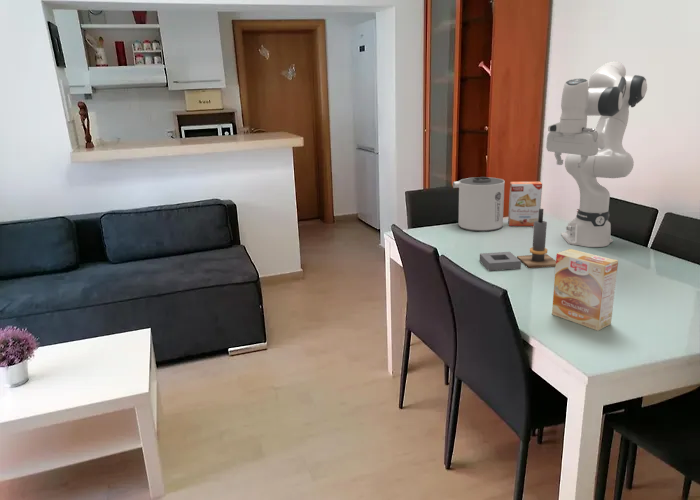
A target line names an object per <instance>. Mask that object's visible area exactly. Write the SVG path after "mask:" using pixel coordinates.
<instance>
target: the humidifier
mask: <svg viewBox="0 0 700 500" xmlns="http://www.w3.org/2000/svg"><path fill="white" fill-rule="evenodd" d="M505 183H506V182H505V180H504V179H503V178H498V177H497V178H496V177H486V176H480V177H479V176H478V177H468V178H462V179H460V180H458V181H453V182H452V187H453V189H455V188H456V189H457V188H458V227H459V228H460V227H461V228H460V229H462V230H465V231H469V230H470V232H479V231H485V232H491V231H498V230H500V229H502V228H503V226H504V209H505V208H504V207H505V206H504V203H505V201H504V200H505Z"/></svg>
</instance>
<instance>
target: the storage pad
mask: <svg viewBox="0 0 700 500" xmlns="http://www.w3.org/2000/svg"><path fill="white" fill-rule="evenodd" d="M516 257H517V258H518V259H519V260H520V261H521V264H523V265H524V266H525V267H526V266H527V267H526V268H527V269H539V268H554V267H555V268H556V259H554V258H553V257H551V256H550V255H548V253H546V254H545V256H544V261H542V262H536V261H533V260H532V254H527V255H516Z"/></svg>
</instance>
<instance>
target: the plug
mask: <svg viewBox="0 0 700 500" xmlns="http://www.w3.org/2000/svg"><path fill="white" fill-rule="evenodd" d="M547 224H548V222H547V221H545V220H544V208H540V209H539V217H538V221H534V226H533V234H532V235H533V237H532V247H530V248H529V253H530V254H531V255H532V260H533V261H536V262H542V261H544V256H545V254H548V251H549V250H548V248H546V240H547V239H546V238H547V237H546V236H547Z"/></svg>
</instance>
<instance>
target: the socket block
mask: <svg viewBox="0 0 700 500" xmlns="http://www.w3.org/2000/svg"><path fill="white" fill-rule="evenodd" d="M480 261H481V262H482V263H483V264H482V263H481V262H480ZM479 262H480V263H481V264H482V265H483V266H484V267H485V268H486V269H487V270H488V272H490V271H494V270H496V271H503V270H502V269H511V270H521V268H522V266H521V265H522V262H521V261H520V260H519V259H518V258H517V256H515V254H513V253H512V252H511V251H499V252H483V253H482V252H481V253H479Z"/></svg>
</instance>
